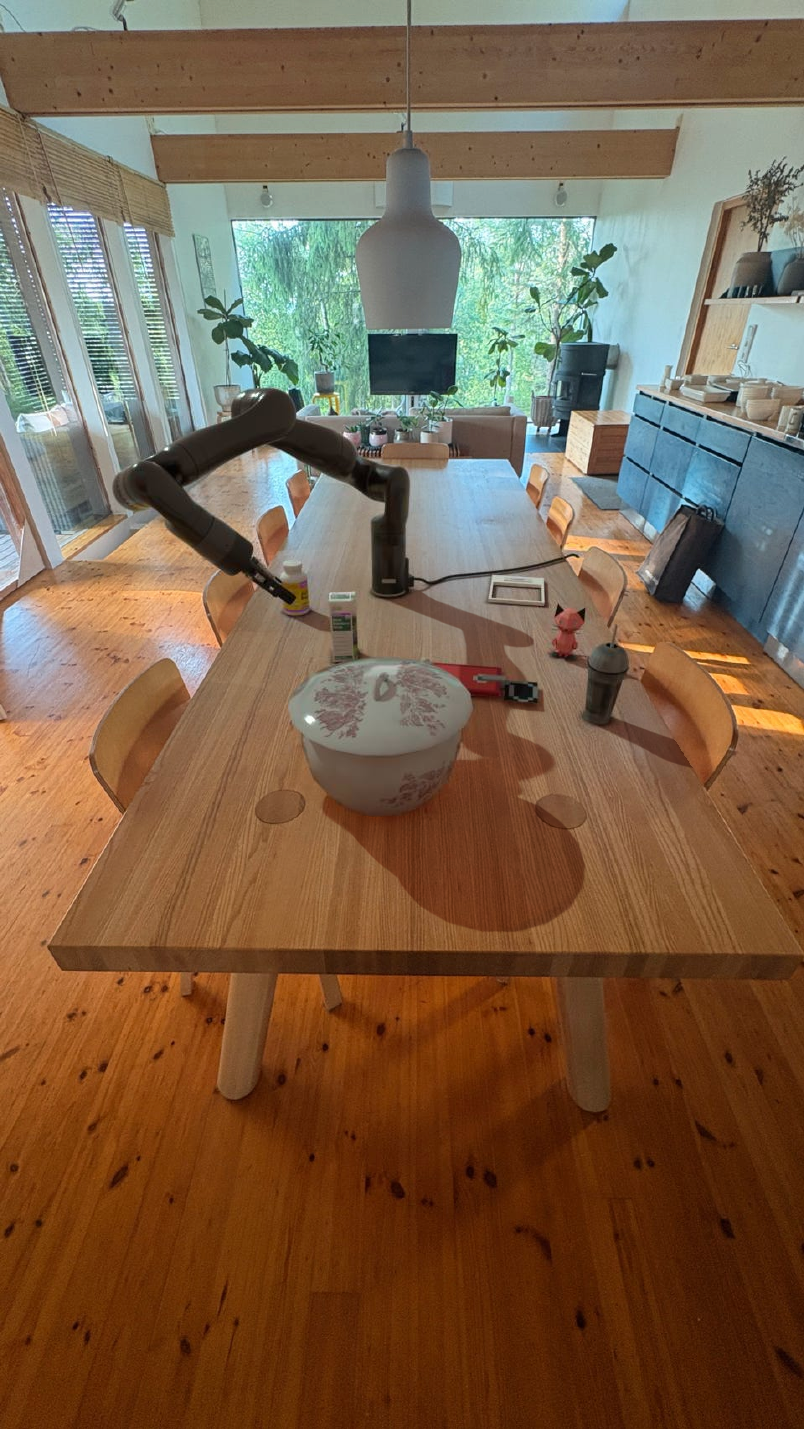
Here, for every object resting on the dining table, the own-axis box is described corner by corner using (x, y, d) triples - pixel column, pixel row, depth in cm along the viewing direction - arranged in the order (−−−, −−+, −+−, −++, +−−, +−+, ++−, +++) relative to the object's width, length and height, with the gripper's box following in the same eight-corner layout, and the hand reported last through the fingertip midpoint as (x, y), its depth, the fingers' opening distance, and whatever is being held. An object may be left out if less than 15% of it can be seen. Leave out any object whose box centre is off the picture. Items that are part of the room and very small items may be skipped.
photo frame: (543, 577, 178) (544, 602, 163) (543, 581, 178) (544, 606, 163) (492, 574, 180) (488, 598, 165) (492, 577, 180) (488, 602, 165)
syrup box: (332, 663, 137) (328, 601, 129) (332, 650, 142) (328, 590, 134) (358, 662, 138) (355, 600, 130) (357, 649, 142) (355, 590, 134)
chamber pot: (328, 868, 87) (317, 749, 75) (279, 759, 108) (265, 652, 96) (501, 814, 96) (514, 700, 85) (425, 723, 117) (428, 622, 106)
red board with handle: (537, 712, 120) (536, 675, 132) (538, 699, 118) (538, 663, 131) (384, 699, 124) (398, 665, 137) (384, 687, 123) (398, 654, 135)
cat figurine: (545, 658, 139) (552, 608, 132) (550, 645, 144) (557, 597, 138) (577, 664, 137) (586, 613, 130) (581, 650, 142) (590, 601, 136)
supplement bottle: (304, 617, 157) (300, 568, 150) (280, 615, 158) (274, 566, 151) (313, 607, 163) (309, 559, 156) (289, 605, 164) (284, 557, 157)
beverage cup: (617, 711, 121) (639, 616, 110) (615, 731, 115) (638, 633, 104) (579, 705, 123) (596, 611, 112) (575, 724, 117) (593, 627, 106)
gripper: (244, 540, 109) (310, 591, 120) (223, 518, 119) (285, 566, 130) (218, 574, 110) (286, 621, 121) (200, 549, 120) (263, 594, 131)
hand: (286, 593), depth 126 cm, fingers open, 8 cm apart
